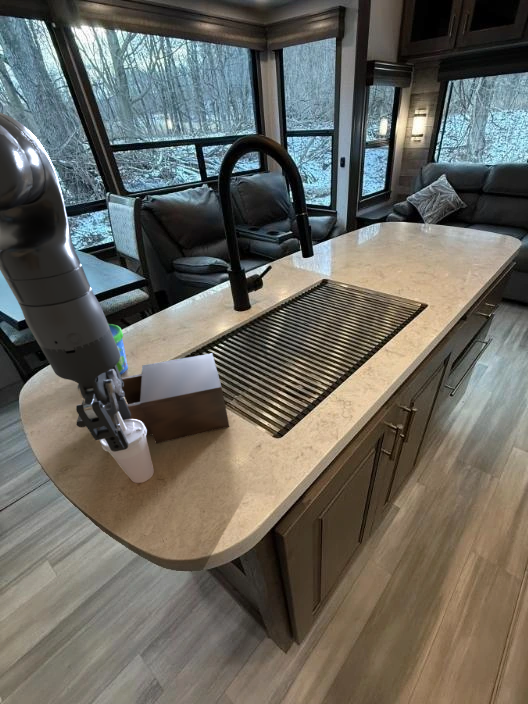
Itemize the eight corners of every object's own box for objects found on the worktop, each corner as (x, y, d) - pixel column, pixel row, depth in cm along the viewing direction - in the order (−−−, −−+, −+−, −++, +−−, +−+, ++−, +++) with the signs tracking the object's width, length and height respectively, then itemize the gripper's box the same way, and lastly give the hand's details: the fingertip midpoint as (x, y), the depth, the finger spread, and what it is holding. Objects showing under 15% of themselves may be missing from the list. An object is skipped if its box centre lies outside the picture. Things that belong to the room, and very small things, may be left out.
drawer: (86, 453, 58) (66, 420, 53) (95, 413, 67) (78, 382, 62) (184, 431, 62) (174, 398, 58) (180, 396, 71) (171, 365, 66)
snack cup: (143, 379, 78) (128, 340, 71) (94, 395, 73) (74, 355, 67) (127, 352, 88) (113, 316, 82) (83, 364, 83) (64, 327, 77)
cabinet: (156, 443, 61) (139, 403, 55) (156, 403, 71) (142, 365, 65) (229, 426, 64) (221, 387, 59) (220, 390, 74) (212, 353, 68)
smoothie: (170, 464, 57) (145, 401, 48) (145, 494, 52) (112, 430, 44) (139, 455, 59) (110, 393, 50) (112, 483, 54) (75, 420, 45)
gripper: (52, 312, 44) (101, 409, 54) (18, 368, 33) (87, 475, 43) (113, 304, 46) (149, 399, 56) (100, 355, 35) (148, 461, 45)
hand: (122, 432), depth 50 cm, fingers closed on smoothie, 6 cm apart
